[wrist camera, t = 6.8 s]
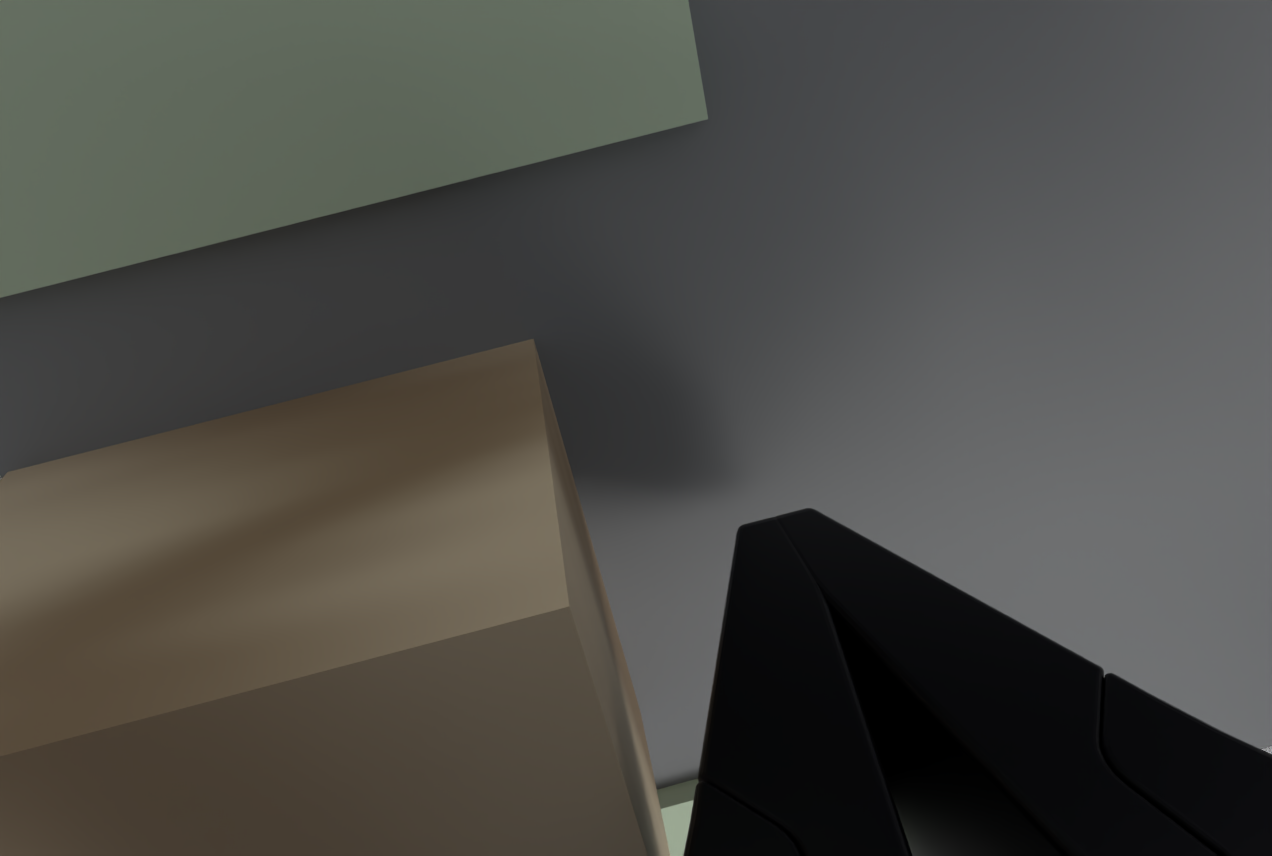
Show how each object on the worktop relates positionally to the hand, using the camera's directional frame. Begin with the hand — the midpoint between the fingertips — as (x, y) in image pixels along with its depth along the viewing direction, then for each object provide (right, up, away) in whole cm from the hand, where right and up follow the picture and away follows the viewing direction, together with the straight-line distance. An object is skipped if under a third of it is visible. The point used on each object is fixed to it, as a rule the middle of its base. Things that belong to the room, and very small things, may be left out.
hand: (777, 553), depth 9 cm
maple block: (-4, -1, +1) cm, 4 cm away
